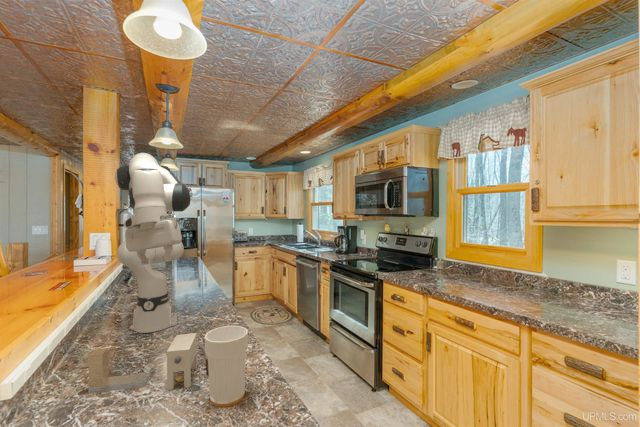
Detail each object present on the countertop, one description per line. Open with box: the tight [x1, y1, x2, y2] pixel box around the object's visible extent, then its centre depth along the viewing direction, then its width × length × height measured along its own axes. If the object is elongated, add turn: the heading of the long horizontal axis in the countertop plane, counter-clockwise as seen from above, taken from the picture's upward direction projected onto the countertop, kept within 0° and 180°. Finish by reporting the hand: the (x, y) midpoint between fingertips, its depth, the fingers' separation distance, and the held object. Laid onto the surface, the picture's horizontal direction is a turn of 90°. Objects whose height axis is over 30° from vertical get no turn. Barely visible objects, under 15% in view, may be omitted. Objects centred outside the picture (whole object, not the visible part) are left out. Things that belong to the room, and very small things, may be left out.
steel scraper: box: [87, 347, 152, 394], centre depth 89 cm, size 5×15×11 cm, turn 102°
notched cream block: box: [166, 332, 198, 391], centre depth 92 cm, size 13×6×11 cm, turn 12°
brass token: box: [174, 372, 184, 383], centre depth 93 cm, size 4×4×1 cm
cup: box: [204, 325, 249, 408], centre depth 83 cm, size 11×11×17 cm
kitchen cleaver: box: [198, 342, 209, 377], centre depth 106 cm, size 24×1×10 cm
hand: (155, 262), depth 93 cm, fingers open, 8 cm apart
